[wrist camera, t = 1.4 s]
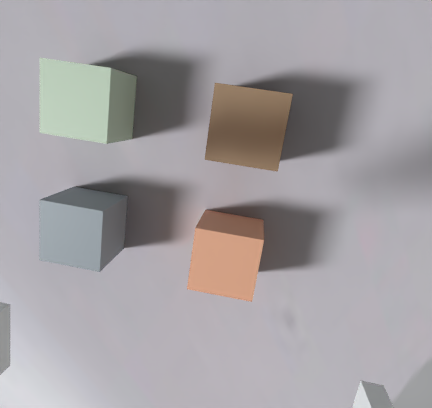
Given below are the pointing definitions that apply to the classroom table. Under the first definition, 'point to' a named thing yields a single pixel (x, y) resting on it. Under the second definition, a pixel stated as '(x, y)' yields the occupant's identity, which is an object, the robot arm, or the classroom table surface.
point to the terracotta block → (226, 255)
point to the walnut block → (247, 126)
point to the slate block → (82, 227)
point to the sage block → (86, 101)
